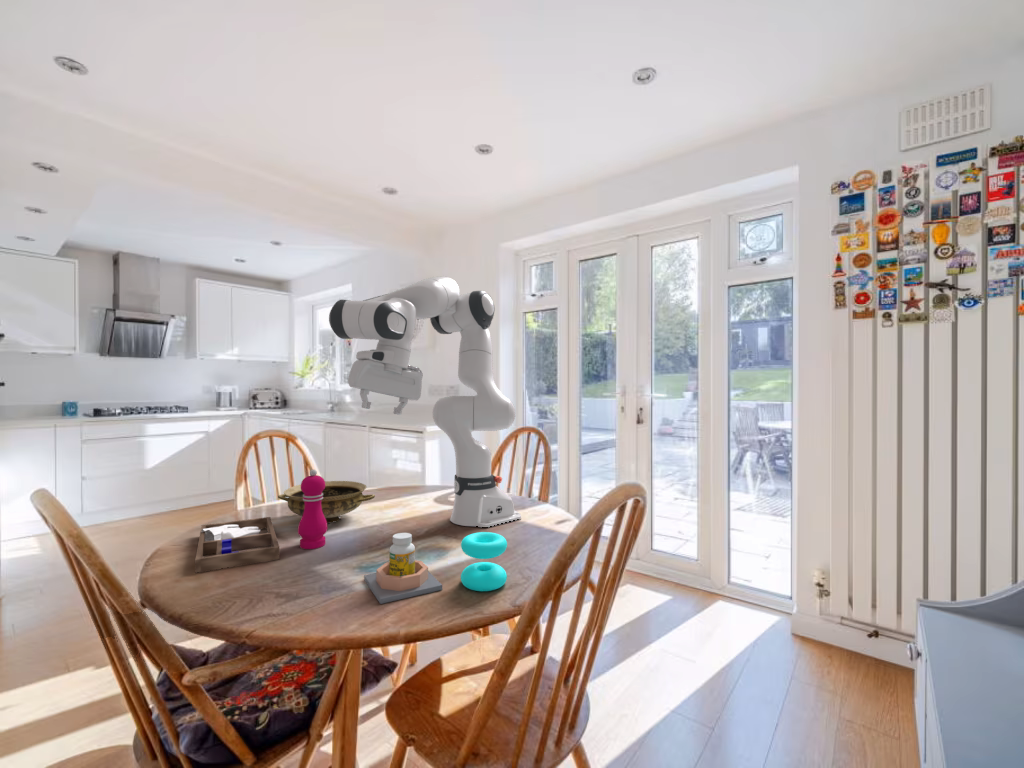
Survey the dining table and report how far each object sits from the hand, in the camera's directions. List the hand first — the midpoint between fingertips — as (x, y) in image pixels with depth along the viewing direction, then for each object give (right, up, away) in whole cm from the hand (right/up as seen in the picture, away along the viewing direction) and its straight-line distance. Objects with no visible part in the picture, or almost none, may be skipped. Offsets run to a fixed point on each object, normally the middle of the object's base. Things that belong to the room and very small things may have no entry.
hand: (381, 411), depth 124 cm
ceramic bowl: (-24, -35, +24) cm, 49 cm away
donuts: (+28, -36, -21) cm, 50 cm away
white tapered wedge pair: (-41, -36, +4) cm, 54 cm away
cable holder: (-34, -36, -9) cm, 50 cm away
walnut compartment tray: (-37, -35, 0) cm, 51 cm away
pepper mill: (-19, -36, +1) cm, 40 cm away
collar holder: (+10, -36, -22) cm, 43 cm away
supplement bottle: (+10, -35, -22) cm, 43 cm away
